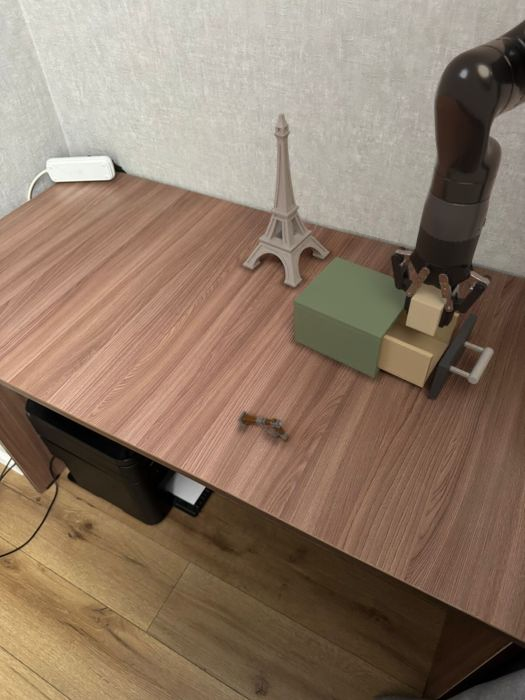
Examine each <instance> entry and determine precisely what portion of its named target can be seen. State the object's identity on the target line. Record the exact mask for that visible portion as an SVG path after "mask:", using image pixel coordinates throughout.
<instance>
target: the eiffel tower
mask: <svg viewBox="0 0 525 700" xmlns="http://www.w3.org/2000/svg"><path fill="white" fill-rule="evenodd" d="M290 133H291V130H290V124H289V123H288V122H287V120H286V118H285V113H282V112H280V113H279V114H278V120H277V122H276V124H275V126H274V133H273V135H274V136H275V138H276V178H275V191H274V201H273V207H272V208H271V209H270V210H269V212H270V213H271V217H270V219H269V222H268V225H267V227H266V230H265V233H263V234H262V235H261V236H259V238H258V241H259V243H258V244H257V245H256V247H255V248H254V249H253V251H252V252H251V253H250V255H248V257H247V258H246V260H245V261H244V262H243V263H242V266H243V267H245V268H248V269H250V270H252V271H253V270H254V269H255V268H257V267H258V266H259V265H260V264H261V261H260V259H261V257H262V256H263V255H264V254H273V255H275V256H277V258H279V259H280V261H281V263H282V264H283V267H284V271H285V272H284V273H285V280H284V281H283V283H284V284H285V285H288V286H290V287H292V288H296V287H297V286H298V285H300V284H301V282H302V281H303V278H301V274H300V269H299V261H300V256H301V254H302V252H303V251H304V250H305V249H307V248H310V249H311V250H312V256H313V257H315V258H318V259H321V260H325V258H326V257H328V255H329V254H330V253H331V251H330V250H328V249H327V248H326V247H325V246H324V245H322V243H321V242H320V241H318V240H317V239H316V238H315V237H314V236H313V235H312V233H313V230H310V229H308V228H307V227H306V225H305V224H304V222H303V220H302V218H301V216H300V214H299V211H298V210H299V209H300V206H299V205H297V204H296V200H295V194H294V188H293V182H292V174H291V165H290V156H289V155H290V154H289V153H290V152H289V135H290Z"/></svg>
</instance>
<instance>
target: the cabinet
mask: <svg viewBox="0 0 525 700" xmlns="http://www.w3.org/2000/svg"><path fill="white" fill-rule="evenodd" d="M405 299H406V293H405V291H403V290H402V289H401V290H398V289H397V288H396V287H395V282H394V276H390V275H388V274H385V273H383V272H379V271H377V270H374V269H371V268H368V267H366V266H363V265H361V264H357V263H355V262H352V261H350V260H346V259H343V258H341V257H338V256H335V257H334V258H333V259H332V260H331V261H330V262H329V263H328V264H327V265H326V266H325V267H324V269H323V270H321V272H320V273H318V275H316V276H315V278H314V279H313V280H312V281H311V282H310V283H309V284H308V285H306V287H305V288H304V289H303V290H302V291H301V292H300V293H299V294H298V295H297V296H296V297H295V298H294V299H293V327H294V329H293V330H294V331H293V333H294V342H296V343H298V344H300V345H303V346H305V347H306V348H309V349H311V350H313V351H315V352H317V353H320V354H321V355H323V356H326V357H328V358H330V359H333V360H335V361H336V362H338V363H341V364H342V365H345V366H347V367H349V368H351V369H353V370H356V371H358V372H360V373H362V374H364V375H366V376H367V377H368V376H369V377H371V378H372V379H374V378H376V376H377V375H378V373H379V372H380V370H381V369H380V368H378V362H379V356H380V351H381V345H382V339H383V337H384V336H385V335H386V333H387V332H388V331H389V329H390V328H391V327H392V325H393V324H394V323H395V321H396V320H397V319H398V317H399V316H400V315H401V313H402V312H403V311H404V303H405Z"/></svg>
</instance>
